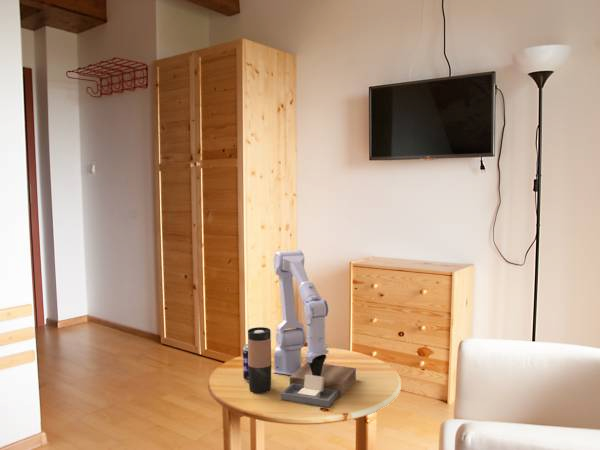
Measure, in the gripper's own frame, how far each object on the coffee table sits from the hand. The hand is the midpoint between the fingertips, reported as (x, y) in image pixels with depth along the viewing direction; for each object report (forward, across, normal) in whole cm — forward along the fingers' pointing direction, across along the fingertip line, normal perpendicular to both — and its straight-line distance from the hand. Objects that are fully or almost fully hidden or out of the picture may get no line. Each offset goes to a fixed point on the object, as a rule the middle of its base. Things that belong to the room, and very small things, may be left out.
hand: (316, 377), depth 167 cm
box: (+5, -6, 0) cm, 8 cm away
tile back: (+1, -2, 0) cm, 2 cm away
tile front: (+2, -7, 0) cm, 7 cm away
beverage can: (+5, +2, +25) cm, 26 cm away
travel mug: (+5, -5, +18) cm, 19 cm away
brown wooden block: (+5, +7, 0) cm, 8 cm away
